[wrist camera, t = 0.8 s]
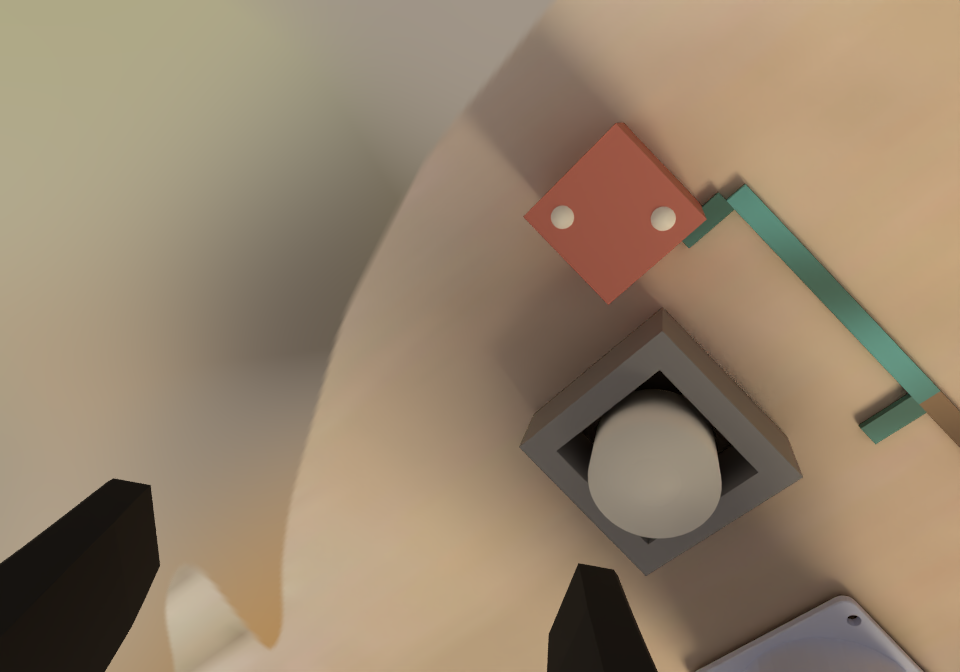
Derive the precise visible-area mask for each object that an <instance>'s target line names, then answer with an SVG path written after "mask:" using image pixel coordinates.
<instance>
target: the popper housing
mask: <svg viewBox="0 0 960 672" xmlns="http://www.w3.org/2000/svg"><path fill="white" fill-rule="evenodd" d="M659 370H660V371H661V372H662V373H663V374H664V375H665V376H666V377H667V378H668V379H669V380H670V381H671V382H672V383H673V384H674V385H675V386H676V387H677V388H678V389H679V390H680V391H681V392H682V393H683V395H684V396H685V397H686V398H687V399H688V400H689V401H690V402H691V403H692V404H693V405H694V406H695V407H696V408H697V409H698V410H699V411H700V412H701V413H702V414H703V415H704V416H705V417H706V418H707V419H708V420H709V421H710V423H711V424H712V425H713V426H714V427H715V428H716V429H717V430H718V431H719V432H720V433H721V434H722V435H723V436H724V437H725V438H726V439H727V440H728V441H729V442H730V443H731V444H732V446H731V447H729V448H728V449H726V450H725V451H723V452H722V453H720V454H719V455H718V461H719V468H720V474H721V482H722V488H721V495H720V499H719V502H718V505H717V507H716V509H715V511H714V512H713V513H712V515H711V516H710V517H709V519H708V520H706V521H705V522H704V523H703V524H702V525H701V526H699V527H698V528H696V529H695V530H693V531H691V532H689V533H686V534H684V535H680V536H677V537H672V538H647V537H642V536H638V535H635V534H632V533H630V532H627V531H625V530H623V529H621V528H620V527H618V526H616V525H615V524H614V523H612V522H611V521H610V520H609V519H607V518H606V517H605V516H604V515H603V513H602V512H601V511H600V510H599V508H598V507H597V505H596V504H595V502H594V500H593V498H592V496H591V493H590V490H589V485H588V468H589V464H590V459H591V454H592V450H593V445H594V444H593V443H592V442H591V441H590V440H589V439H588V438H587V437H586V436H585V435H584V434H583V433H582V432H581V431H583V430H584V429H585V428H586V427H588V426H589V425H590V424H591V423H593V422H594V421H595V420H597V419H598V418H599V417H600V416H602V415H603V414H604V413H605V412H607V411H608V410H609V409H611V408H612V407H613V406H614V405H616V404H617V403H618V402H619V401H621V400H622V399H623V398H625V397H626V396H627V395H628V394H630V393H631V392H632V391H634V390H635V389H636V388H637V387H639V386H640V385H641V384H642V383H644V382H645V381H646V380H648V379H649V378H650V377H651V376H653V375H654V374H655V373H656V372H658V371H659ZM520 448H521V449H522V450H523V451H524V452H525V453H526V455H527V456H528V457H529V458H530V459H531V460H532V461H533V462H534V463H535V464H536V465H537V466H538V467H539V468H540V469H541V470H542V471H543V472H544V473H545V474H546V475H547V476H548V477H549V478H550V479H551V480H552V481H553V482H554V483H555V484H556V485H557V486H558V487H559V488H560V489H561V490H562V491H563V492H564V493H565V494H566V495H567V496H568V497H569V498H570V499H571V500H572V501H573V502H574V503H575V504H576V505H577V506H578V507H579V508H580V509H581V510H582V511H583V513H584V514H585V515H586V516H587V517H588V518H589V519H590V520H591V521H592V522H593V523H594V524H595V525H596V526H597V527H598V528H599V529H600V530H601V531H602V532H603V533H604V534H605V535H606V536H607V537H608V538H609V539H610V540H611V541H612V542H613V543H614V544H615V545H616V546H617V547H618V548H619V549H620V550H621V551H622V552H623V553H624V554H625V555H626V556H627V557H628V558H629V559H630V560H631V561H632V562H633V563H634V564H635V565H636V566H637V567H638V568H639V569H640V570H641V572H642V573H643V574H644V575H645V576H647V575H648V574H650V573H651V572H653V571H655V570H656V569H658V568H659V567H661V566H663V565H664V564H666V563H667V562H669V561H670V560H672V559H674V558H675V557H677V556H678V555H680V554H682V553H683V552H685V551H686V550H688V549H690V548H691V547H693V546H694V545H696V544H698V543H699V542H701V541H702V540H704V539H705V538H707V537H709V536H710V535H712V534H713V533H715V532H717V531H718V530H720V529H721V528H723V527H725V526H726V525H728V524H729V523H731V522H733V521H734V520H736V519H737V518H739V517H740V516H742V515H744V514H745V513H747V512H748V511H750V510H752V509H753V508H755V507H756V506H758V505H760V504H761V503H763V502H764V501H766V500H768V499H769V498H771V497H772V496H774V495H776V494H777V493H779V492H780V491H782V490H783V489H785V488H787V487H788V486H790V485H791V484H793V483H795V482H796V481H798V480H799V479H801V478H803V476H802V473H801V470H800V468H799V465H798V463H797V460H796V458H795V455H794V452H793V450H792V447H791V445H790V442H789V440H788V438H787V436H786V435H785V434H784V433H783V432H782V431H781V430H780V429H779V428H778V427H777V426H776V425H775V424H774V423H773V422H772V421H771V420H770V419H769V418H768V417H767V416H766V415H765V414H764V413H763V411H762V410H761V409H760V408H759V407H758V406H757V405H756V404H755V403H754V402H753V401H752V400H751V399H750V398H749V397H748V396H747V395H746V394H745V393H744V392H743V391H742V390H741V389H740V387H739V386H738V385H737V384H736V383H735V382H734V381H733V380H732V379H731V378H730V377H729V376H728V375H727V374H726V373H725V372H724V371H723V370H722V369H721V368H720V367H719V366H718V365H717V364H716V362H715V361H714V360H713V359H712V358H711V357H710V356H709V355H708V354H707V353H706V352H705V351H704V350H703V349H702V348H701V347H700V346H699V345H698V344H697V343H696V342H695V341H694V340H693V339H692V337H691V336H690V335H689V334H688V333H687V332H686V331H685V330H684V329H683V328H682V327H681V326H680V325H679V324H678V323H677V322H676V321H675V320H674V319H673V318H672V317H671V316H670V315H669V314H668V312H667V311H666V310H665V309H664V308H661V309H660V310H659V311H658V312H657V313H655V314H654V315H653V316H652V317H651V318H649V319H648V320H647V321H646V322H645V323H643V324H642V325H641V326H640V327H639V328H637V329H636V330H635V331H634V332H632V333H631V334H630V335H629V336H628V337H626V338H625V339H624V340H623V341H622V342H620V343H619V344H618V345H617V346H616V347H614V348H613V349H612V350H611V351H610V352H608V353H607V354H606V355H605V356H604V357H602V358H601V359H600V360H599V361H598V362H596V363H595V364H594V365H593V366H592V367H590V368H589V369H588V370H587V371H586V372H584V373H583V374H582V375H581V376H580V377H578V378H577V379H576V380H575V381H574V382H572V383H571V384H570V385H569V386H568V387H566V388H565V389H564V390H563V391H562V392H560V393H559V394H558V395H557V396H556V397H554V398H553V399H552V400H551V401H550V402H548V403H547V404H546V405H545V406H544V407H542V408H541V409H540V410H539V411H538V412H536V413H535V414H534V415H533V418H532V420H531V422H530V424H529V427H528V429H527V431H526V433H525V436H524V438H523V440H522V442H521V445H520Z"/></svg>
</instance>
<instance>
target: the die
mask: <svg viewBox="0 0 960 672" xmlns="http://www.w3.org/2000/svg"><path fill="white" fill-rule="evenodd" d="M524 218H525V219H526V220H527V221H528V222H529V223H530V224H531V225H532V226H533V227H534V228H535V229H536V230H537V231H538V233H539V234H540V235H541V236H542V237H543V238H544V239H545V240H546V241H547V242H548V243H549V244H550V245H551V246H552V247H553V248H554V249H555V250H556V251H557V252H558V253H559V254H560V255H561V256H562V257H563V258H564V260H565V261H566V262H567V263H568V264H569V265H570V266H571V267H572V268H573V269H574V270H575V271H576V272H577V273H578V274H579V275H580V276H581V277H582V278H583V279H584V280H585V281H586V282H587V283H588V284H589V285H590V287H591V288H592V289H593V290H594V291H595V292H596V293H597V294H598V295H599V296H600V297H601V298H602V299H603V300H604V301H605V302H606V303H607V304H608V305H609V304H610V303H611V302H612V301H613V300H614V299H616V298H617V297H618V296H619V295H620V294H621V293H623V292H624V291H625V290H626V289H627V288H628V287H629V286H631V285H632V284H633V283H634V282H635V281H636V280H638V279H639V278H640V277H641V276H642V275H643V274H644V273H646V272H647V271H648V270H649V269H650V268H651V267H652V266H654V265H655V264H656V263H657V262H658V261H659V260H661V259H662V258H663V257H664V256H665V255H666V254H667V253H669V252H670V251H671V250H672V249H673V248H674V247H676V246H677V245H678V244H679V243H680V242H681V241H682V240H684V239H685V238H686V237H687V236H688V235H689V234H691V233H692V232H693V231H694V230H695V229H696V228H697V227H699V226H700V225H701V224H702V223H703V222H704V221H705V220H707V219H706V217H705V214H704V212H703V209H702V207H701V204H700V203H699V202H698V201H697V200H696V199H695V198H694V197H693V196H692V195H691V194H690V192H689V191H688V190H687V189H686V188H685V187H684V186H683V185H682V184H681V183H680V182H679V181H678V180H677V179H676V178H675V177H674V176H673V175H672V173H671V172H670V171H669V170H668V169H667V168H666V167H665V166H664V165H663V164H662V163H661V162H660V161H659V160H658V159H657V158H656V157H655V156H654V154H653V153H652V152H651V151H650V150H649V149H648V148H647V147H646V146H645V145H644V144H643V143H642V142H641V141H640V140H639V139H638V138H637V136H636V135H635V134H634V133H633V132H632V131H631V130H630V129H629V128H628V127H627V126H626V125H625V124H624V123H615V124H614V125H613V127H612V128H611V129H610V130H609V131H608V132H607V133H606V134H605V135H604V136H603V137H602V138H601V139H600V140H599V141H598V142H597V143H596V144H595V145H594V146H593V147H592V148H591V149H590V150H589V151H588V152H587V153H586V154H585V155H584V156H583V157H582V158H581V159H580V160H579V161H578V162H577V163H576V164H575V165H574V166H573V167H572V168H571V169H570V170H569V171H568V172H567V173H566V174H565V175H564V176H563V177H562V178H561V179H560V180H559V181H558V182H557V183H556V184H555V185H554V186H553V187H552V188H551V189H550V190H549V191H548V192H547V193H546V194H545V195H544V196H543V197H542V198H541V199H540V200H539V201H538V202H537V203H536V204H535V205H534V206H533V207H532V208H531V210H530V211H529V212H528V213H527V214H526V215H525V216H524Z"/></svg>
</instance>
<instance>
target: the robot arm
mask: <svg viewBox="0 0 960 672" xmlns="http://www.w3.org/2000/svg"><path fill="white" fill-rule="evenodd" d="M159 567H160V561H159V553H158V544H157V536H156V527H155V520H154V511H153V502H152V495H151V486H150V485H146V484H141V483H135V482H130V481H124V480H119V479H112V480H110V481H108V482H107V483H105V484H104V485H103V486H102V487H101V488H99V489H98V490H96V491H95V492H94V493H92V494H91V495H90V496H89V497H87V498H86V499H85V500H84V501H82V502H81V503H80V504H78V505H77V506H76V507H75V508H73V509H72V510H71V511H69V512H68V513H67V514H65V515H64V516H63V517H62V518H60V519H59V520H58V521H57V522H55V523H54V524H52V525H51V526H50V527H49V528H47V529H46V530H45V531H43V532H42V533H41V534H39V535H38V536H37V537H35V538H34V539H33V540H32V541H30V542H29V543H27V544H26V545H25V546H23V547H22V548H21V549H20V550H18V551H17V552H15V553H14V554H13V555H11V556H10V557H9V558H7V559H6V560H4V561H3V562H2V563H0V672H105V670H106V669H107V667H108V665H109V664H110V662H111V660H112V659H113V657H114V655H115V654H116V652H117V651H118V649H119V647H120V645H121V644H122V642H123V640H124V639H125V637H126V635H127V634H128V632H129V630H130V629H131V627H132V625H133V623H134V621H135V618H136V616H137V614H138V612H139V610H140V608H141V606H142V604H143V602H144V600H145V598H146V595H147V593H148V591H149V588H150V587H151V584H152V582H153V580H154V578H155V575H156V573H157V571H158V569H159ZM851 615H857V616H858V617H857V618H855V619H848V617H849V616H851ZM547 672H658V671H657V669H656V667H655V664H654V662H653V660H652V658H651V656H650V653H649V651H648V649H647V646H646V644H645V642H644V639H643V637H642V635H641V632H640V630H639V628H638V625H637V623H636V620H635V618H634V616H633V613H632V611H631V608H630V606H629V603H628V601H627V598H626V596H625V593H624V590H623V588H622V585H621V583H620V580H619V577H618V575H617V574H616V572H615V571H614V570H612V569H607V568H601V567H596V566H590V565H585V564H579V563H578V566H577V568H576V571H575V573H574V575H573V578H572V580H571V582H570V585H569V587H568V590H567V592H566V594H565V597H564V599H563V602H562V604H561V606H560V609H559V611H558V614H557V616H556V618H555V621H554V623H553V626H552V628H551V630H550V633H549V642H548V663H547ZM695 672H924V671H923V670H922V669H921V668H920V667H919V666H918V665H917V664H916V663H915V662H914V661H913V660H912V659H911V658H910V657H909V656H908V655H907V654H906V653H905V652H904V651H903V650H902V649H901V648H900V647H899V646H898V645H897V643H896V642H895V641H894V640H893V639H892V638H891V637H890V636H889V635H888V634H887V633H886V632H885V631H884V630H883V629H882V628H881V627H880V626H879V625H878V624H877V623H876V622H875V621H874V620H873V619H872V618H871V617H870V616H869V615H868V614H867V612H866V611H865V610H864V609H863V608H862V607H861V606H860V605H859V604H858V603H857V602H856V601H855V600H854V599H852V598H851V597H848V596H837V597H834V598H833V599H831V600H829V601H827V602H825V603H823V604H821V605H819V606H817V607H816V608H814V609H812V610H810V611H808V612H806V613H804V614H802V615H801V616H799V617H797V618H795V619H793V620H791V621H789V622H787V623H785V624H784V625H782V626H780V627H778V628H776V629H774V630H772V631H770V632H769V633H767V634H765V635H763V636H761V637H759V638H757V639H755V640H753V641H752V642H750V643H748V644H746V645H744V646H742V647H740V648H738V649H737V650H735V651H733V652H731V653H729V654H727V655H725V656H723V657H721V658H720V659H718V660H716V661H714V662H712V663H710V664H708V665H706V666H704V667H703V668H701V669H699V670H697V671H695Z"/></svg>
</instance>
